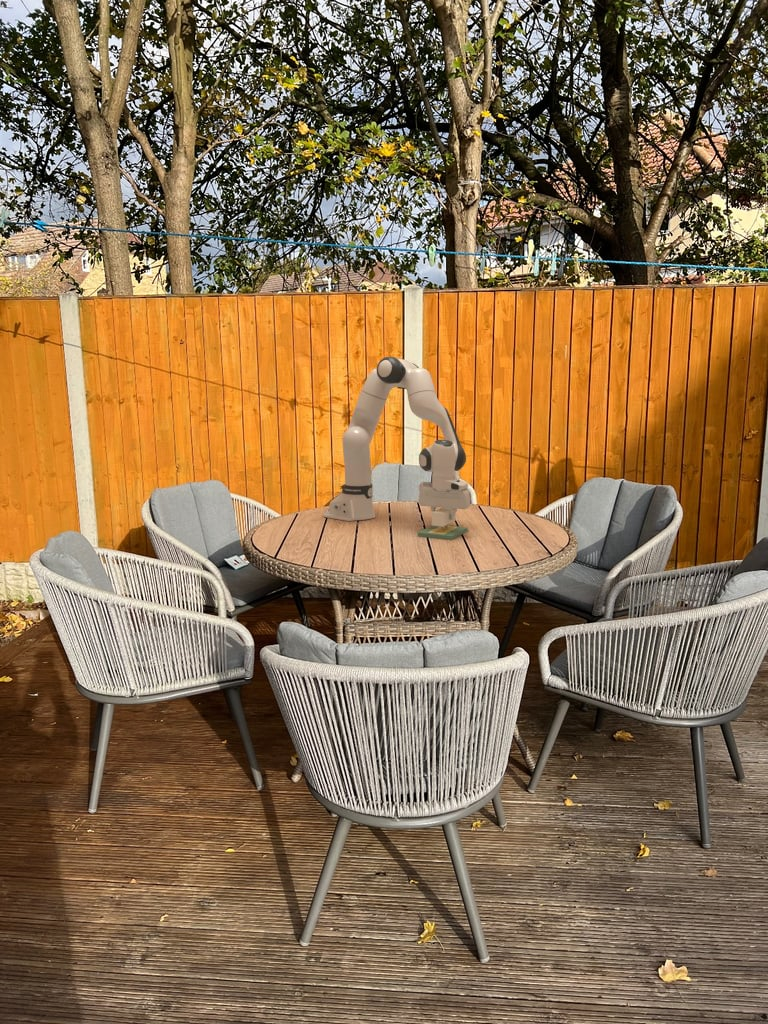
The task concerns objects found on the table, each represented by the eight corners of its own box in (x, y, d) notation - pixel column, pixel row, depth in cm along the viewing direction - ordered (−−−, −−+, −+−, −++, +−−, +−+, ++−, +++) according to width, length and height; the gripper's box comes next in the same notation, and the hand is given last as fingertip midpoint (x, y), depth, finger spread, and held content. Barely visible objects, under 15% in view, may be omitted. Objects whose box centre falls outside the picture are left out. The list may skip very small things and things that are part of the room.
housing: (431, 525, 287) (431, 512, 286) (443, 519, 297) (443, 506, 296) (443, 526, 285) (443, 513, 284) (455, 520, 295) (455, 507, 294)
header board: (417, 536, 288) (417, 523, 287) (435, 527, 302) (435, 515, 301) (451, 540, 282) (451, 527, 281) (467, 531, 295) (468, 518, 294)
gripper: (415, 482, 290) (415, 518, 293) (465, 486, 280) (465, 522, 283) (422, 480, 295) (422, 515, 298) (471, 483, 286) (471, 519, 289)
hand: (444, 518), depth 291 cm, fingers closed on housing, 5 cm apart
